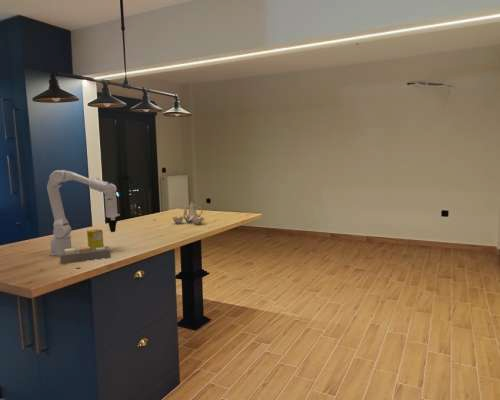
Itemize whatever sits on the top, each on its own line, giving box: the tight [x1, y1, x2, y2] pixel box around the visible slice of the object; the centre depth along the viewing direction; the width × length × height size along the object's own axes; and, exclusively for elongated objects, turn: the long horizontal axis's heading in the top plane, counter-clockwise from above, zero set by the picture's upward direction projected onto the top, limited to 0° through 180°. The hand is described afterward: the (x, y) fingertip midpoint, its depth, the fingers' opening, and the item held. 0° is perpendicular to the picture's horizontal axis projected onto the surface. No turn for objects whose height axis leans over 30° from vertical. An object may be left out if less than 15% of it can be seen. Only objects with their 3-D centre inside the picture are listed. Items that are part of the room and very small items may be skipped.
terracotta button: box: [79, 246, 90, 252], centre depth 189 cm, size 4×4×3 cm
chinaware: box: [171, 201, 206, 226], centre depth 286 cm, size 28×17×17 cm, turn 72°
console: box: [59, 245, 111, 265], centre depth 189 cm, size 10×22×4 cm, turn 114°
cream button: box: [65, 247, 76, 254], centre depth 186 cm, size 4×4×3 cm
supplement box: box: [86, 228, 105, 248], centre depth 207 cm, size 6×6×11 cm
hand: (112, 231), depth 202 cm, fingers closed
